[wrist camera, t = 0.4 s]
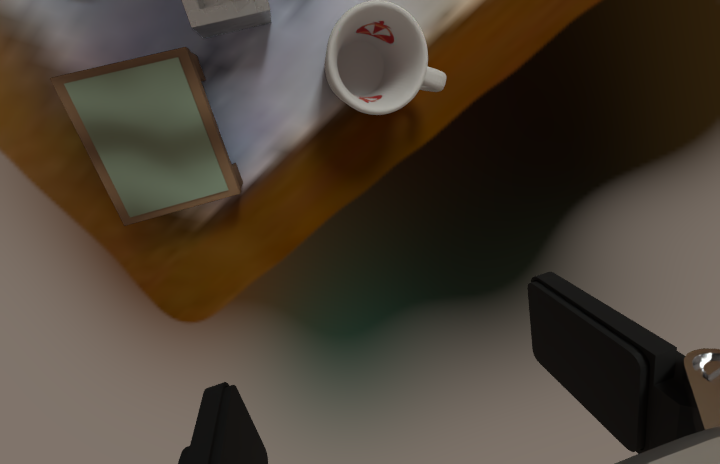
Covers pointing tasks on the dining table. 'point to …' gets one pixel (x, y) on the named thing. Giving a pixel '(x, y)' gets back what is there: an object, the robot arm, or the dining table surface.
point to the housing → (226, 15)
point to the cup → (379, 59)
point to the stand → (150, 133)
